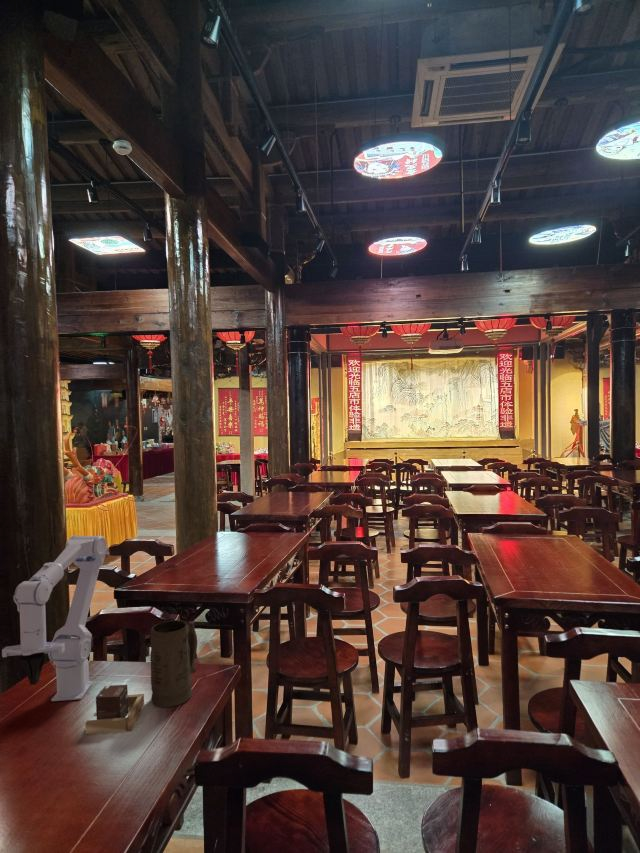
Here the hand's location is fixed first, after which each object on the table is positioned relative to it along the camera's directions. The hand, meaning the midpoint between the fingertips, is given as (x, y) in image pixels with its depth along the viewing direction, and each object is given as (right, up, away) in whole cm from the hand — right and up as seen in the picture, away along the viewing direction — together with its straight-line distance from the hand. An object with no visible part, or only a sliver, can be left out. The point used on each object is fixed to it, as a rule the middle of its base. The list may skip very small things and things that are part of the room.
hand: (34, 682), depth 133 cm
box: (+19, -10, +1) cm, 22 cm away
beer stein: (+33, -9, +13) cm, 36 cm away
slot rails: (+20, -10, +1) cm, 22 cm away
